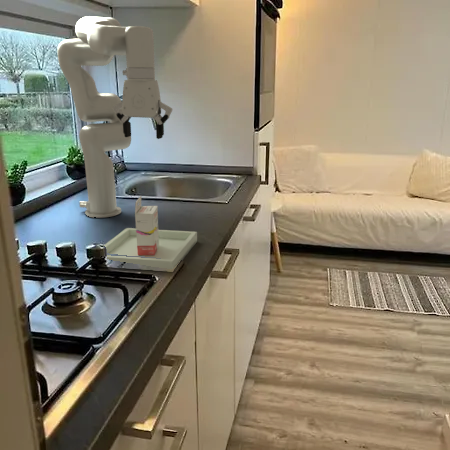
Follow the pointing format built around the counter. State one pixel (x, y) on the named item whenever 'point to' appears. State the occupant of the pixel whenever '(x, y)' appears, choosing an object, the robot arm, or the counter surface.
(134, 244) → the sage tray
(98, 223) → the counter surface
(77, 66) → the robot arm
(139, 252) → the ink cartridge box
